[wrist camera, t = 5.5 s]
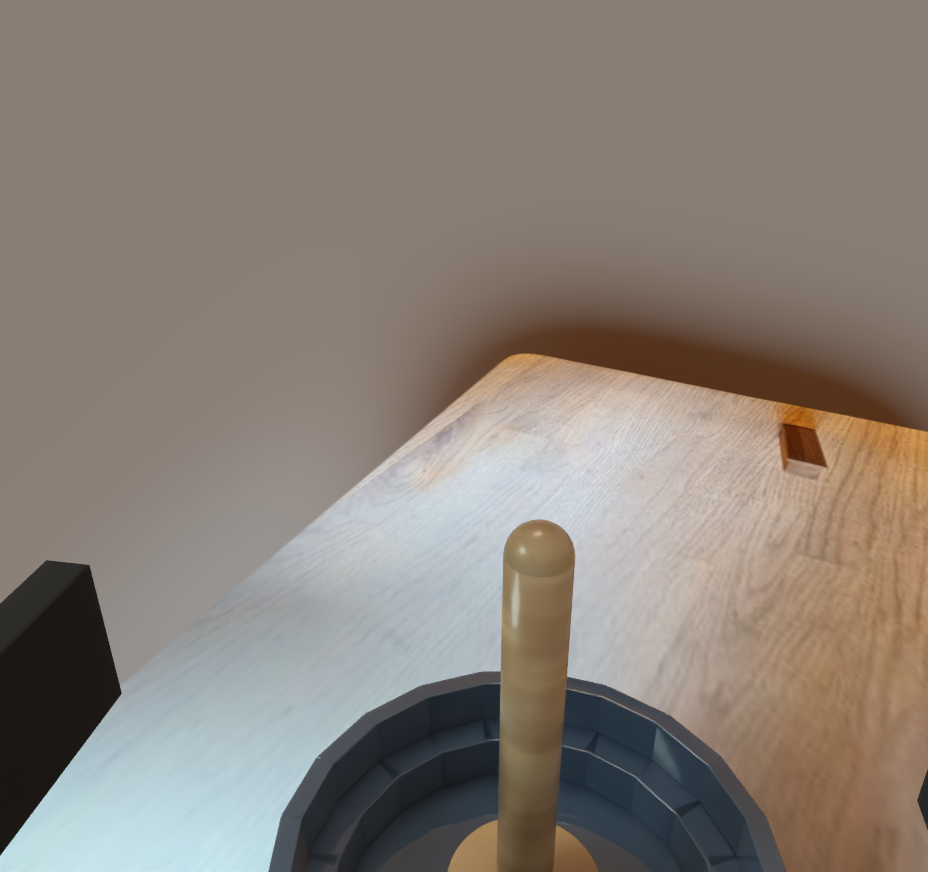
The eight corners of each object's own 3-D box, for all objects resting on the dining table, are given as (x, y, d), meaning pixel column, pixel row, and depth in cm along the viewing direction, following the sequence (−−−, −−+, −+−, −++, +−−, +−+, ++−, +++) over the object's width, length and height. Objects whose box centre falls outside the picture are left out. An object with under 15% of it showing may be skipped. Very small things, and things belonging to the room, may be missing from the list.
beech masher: (429, 879, 33) (416, 492, 25) (561, 840, 34) (589, 463, 26) (474, 1027, 28) (476, 607, 20) (625, 974, 29) (684, 563, 21)
